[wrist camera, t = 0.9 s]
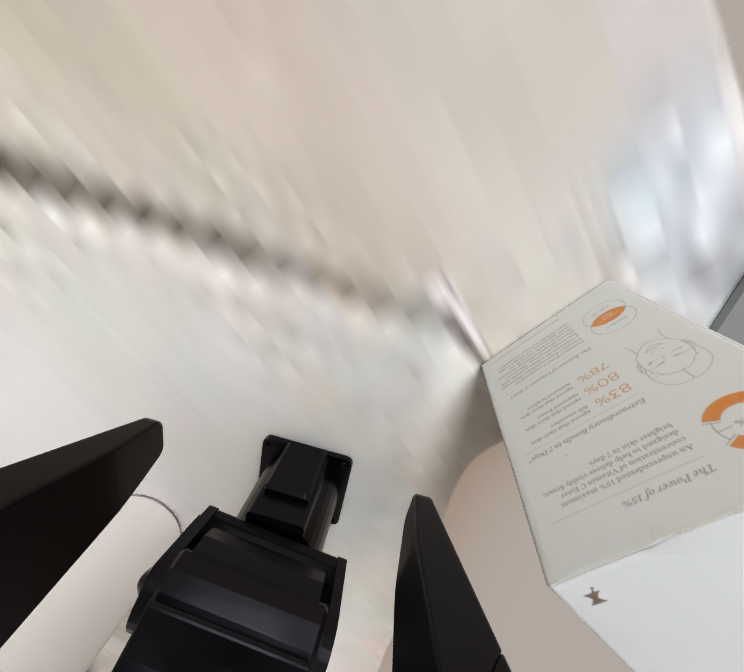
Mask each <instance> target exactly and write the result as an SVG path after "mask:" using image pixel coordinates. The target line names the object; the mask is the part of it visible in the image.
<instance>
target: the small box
mask: <svg viewBox="0 0 744 672" xmlns="http://www.w3.org/2000/svg"><path fill="white" fill-rule="evenodd" d="M482 369H483V373H484V376H485V380H486V383H487V386H488V390H489V394H490V397H491V401H492V405H493V408H494V411H495V415H496V418H497V421H498V424H499V428H500V431H501V434H502V437H503V441H504V444H505V447H506V450H507V453H508V457H509V460H510V463H511V466H512V470H513V473H514V476H515V480H516V483H517V486H518V490H519V493H520V497H521V500H522V503H523V507H524V510H525V514H526V517H527V520H528V524H529V527H530V530H531V534H532V537H533V540H534V544H535V547H536V550H537V554H538V557H539V560H540V563H541V567H542V570H543V574H544V577H545V580H546V584H547V586H548V587H549V588H550V589H551V590H552V591H553V592H554V593H556V595H558V596H559V597H560V598H561V599H562V600H563V601H564V602H565V603H566V604H567V605H568V606H569V607H570V608H571V609H572V610H573V611H574V612H575V613H576V614H577V615H578V616H579V617H580V618H581V619H582V620H583V621H584V622H585V623H586V624H587V625H588V627H590V629H592V631H593V632H594V633H596V634H597V635H598V636H599V637H600V638H601V639H602V640H603V641H604V642H605V643H606V644H607V645H608V646H609V647H610V648H611V649H612V650H613V651H614V652H615V653H616V654H617V655H618V656H619V657H620V658H621V659H622V660H623V661H624V662H625V663H626V664H627V665H628V666H629V667H630V668H631V669H632V670H633V671H634V672H744V345H742V344H740V343H738V342H736V341H734V340H731V339H729V338H727V337H725V336H723V335H721V334H719V333H717V332H715V331H713V330H711V329H709V328H706V327H704V326H702V325H701V324H699V323H697V322H695V321H692V320H690V319H688V318H686V317H684V316H683V315H681V314H679V313H677V312H675V311H673V310H671V309H668V308H666V307H664V306H662V305H660V304H659V303H657V302H654V301H652V300H650V299H648V298H646V297H644V296H642V295H640V294H638V293H636V292H634V291H632V290H629V289H627V288H625V287H623V286H621V285H619V284H617V283H615V282H612V281H610V280H607V281H605V282H603V283H602V284H601V285H599V286H598V287H596V288H595V289H593V290H592V291H590V292H589V293H587V294H586V295H584V296H583V297H581V298H580V299H578V300H577V301H575V302H574V303H572V304H571V305H569V306H568V307H566V308H565V309H563V310H562V311H560V312H559V313H558V314H556V315H555V316H553V317H552V318H550V319H549V320H547V321H546V322H544V323H543V324H541V325H540V326H538V327H537V328H535V329H534V330H532V331H531V332H529V333H528V334H526V335H525V336H523V337H522V338H521V339H519V340H518V341H516V342H515V343H513V344H512V345H510V346H509V347H507V348H506V349H505V350H503V351H502V352H500V353H499V354H497V355H496V356H494V357H493V358H491V359H490V360H488V361H487V362H485V363H484V364H483V365H482Z"/></svg>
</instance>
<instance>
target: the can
mask: <svg viewBox="0 0 744 672" xmlns="http://www.w3.org/2000/svg"><path fill="white" fill-rule="evenodd" d="M179 536H180V525H179V522H178V520H177V518H176V516H175V515H174V514H173V512H172V511H171V510H170V509H169V508H168V507H166V506H165V505H164V504H162V503H161V502H159V501H157V500H156V499H154V498H151V497H148V496H143V495H131V496H130V498H129V499H128V501H127V502H126V503H125V505H124V506H123V507H122V508H121V510H120V511H119V512H118V513H117V515H116V516H115V517H114V518H113V519H112V520H111V522H110V523H109V524H108V525H107V526H106V527H105V529H104V530H103V531H102V532H101V533H100V534H99V535H98V537H97V538H96V539H95V540H94V541H93V542H92V544H91V545H90V546H89V547H88V548H87V549H86V550H85V552H84V553H83V554H82V555H81V556H80V557H79V559H78V560H77V561H76V562H75V563H74V564H73V565H72V567H71V568H70V569H69V570H68V571H67V572H66V574H65V575H64V576H63V577H62V578H61V579H60V580H59V582H58V583H57V584H56V585H55V586H54V587H53V589H52V590H51V591H50V592H49V593H48V594H47V595H46V597H45V598H44V599H43V600H42V601H41V602H40V603H39V605H38V606H37V607H36V608H35V609H34V610H33V612H32V613H31V614H30V615H29V616H28V617H27V618H26V620H25V621H24V622H23V623H22V624H21V625H20V627H19V628H18V629H17V630H16V631H15V632H14V633H13V635H12V636H11V637H10V638H9V639H8V640H7V642H6V643H5V644H4V645H3V646H2V647H1V648H0V672H86V670H87V669H88V667H89V666H90V665H91V663H92V662H93V661H94V659H95V658H96V656H97V655H98V654H99V652H100V651H101V650H102V648H103V647H104V645H105V644H106V643H107V641H108V640H109V638H110V637H111V636H112V634H113V633H114V632H115V630H116V629H117V627H118V626H119V625H120V623H121V622H122V620H123V619H124V618H125V616H126V615H127V613H128V612H129V611H130V609H131V608H132V607H133V605H134V604H135V602H136V600H137V597H138V591H137V584H138V581H139V579H140V578H141V576H142V575H143V574H144V573H145V572H146V571H147V570H148V569H149V568H151V567H152V566H153V565H154V564H155V563H156V562H157V561H158V559H159V558H160V557H161V556H162V555H163V554H164V553H165V552H166V551H167V550H168V548H169V547H170V546H171V545H172V544H173V543H174V542H175V541H176V540H177V539H178V537H179Z"/></svg>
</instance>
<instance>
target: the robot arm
mask: <svg viewBox="0 0 744 672" xmlns="http://www.w3.org/2000/svg"><path fill="white" fill-rule="evenodd" d="M269 441H270V442H272V443H273V444H272V443H270V442H269ZM162 450H163V426H162V423H161V422H159V421H156V420H153V419H149V418H143V419H140V420H137V421H134V422H131V423H129V424H126V425H123V426H120V427H117V428H114V429H111V430H108V431H106V432H103V433H100V434H97V435H94V436H91V437H88V438H85V439H83V440H80V441H77V442H74V443H71V444H68V445H65V446H62V447H60V448H57V449H54V450H51V451H48V452H45V453H42V454H40V455H37V456H34V457H31V458H28V459H25V460H22V461H19V462H17V463H14V464H11V465H8V466H5V467H2V468H0V648H1V647H2V646H3V645H4V644H5V643H6V642H7V640H8V639H9V638H10V637H11V636H12V635H13V633H14V632H15V631H16V630H17V629H18V628H19V627H20V625H21V624H22V623H23V622H24V621H25V620H26V618H27V617H28V616H29V615H30V614H31V613H32V612H33V610H34V609H35V608H36V607H37V606H38V605H39V603H40V602H41V601H42V600H43V599H44V598H45V597H46V595H47V594H48V593H49V592H50V591H51V590H52V589H53V587H54V586H55V585H56V584H57V583H58V582H59V580H60V579H61V578H62V577H63V576H64V575H65V574H66V572H67V571H68V570H69V569H70V568H71V567H72V565H73V564H74V563H75V562H76V561H77V560H78V559H79V557H80V556H81V555H82V554H83V553H84V552H85V550H86V549H87V548H88V547H89V546H90V545H91V544H92V542H93V541H94V540H95V539H96V538H97V537H98V535H99V534H100V533H101V532H102V531H103V530H104V529H105V527H106V526H107V525H108V524H109V523H110V522H111V520H112V519H113V518H114V517H115V516H116V515H117V513H118V512H119V511H120V510H121V508H122V507H123V506H124V505H125V503H126V502H127V501H128V499H129V498H130V496H131V495H132V494H133V492H134V491H135V489H136V488H137V487H138V485H139V484H140V483H141V481H142V480H143V478H144V477H145V476H146V474H147V473H148V471H149V470H150V469H151V467H152V466H153V464H154V463H155V462H156V460H157V459H158V457H159V456H160V454H161V452H162ZM344 463H347V464H344ZM352 464H353V461H352V459H351V458H350V457H348V456H345V455H341V454H338V453H334V452H331V451H327V450H323V449H320V448H316V447H313V446H309V445H306V444H302V443H299V442H295V441H291V440H288V439H284V438H281V437H277V436H274V435H268V436H267V437H266V438H265V439H264V441H263V448H262V457H261V466H260V475H259V480H258V482H257V484H256V485H255V487H254V489H253V490H252V492H251V494H250V495H249V497H248V499H247V500H246V502H245V504H244V505H243V507H242V509H241V510H240V512H239V514H238V515H237V517H234V516H232V515H229V514H227V513H224V512H222V511H219V508H216V507H214V506H211V505H210V506H209V507H208V508H207V509H206V510H205V511H204V512H203V513H202V514H201V515H198V516H197V518H196V519H195V520H194V521H193V522H192V523H191V524H190V525H189V526H188V528H187V529H186V530H185V531H184V532H183V533H182V534H181V535H180V536H179V537H178V539H177V540H176V541H175V542H174V543H173V544H172V545H171V546H170V547H169V548H168V550H167V551H166V552H165V553H164V554H163V555H162V556H161V557H160V558H159V559H158V561H157V562H156V563H155V564H154V565H153V566H152V567H151V568H149V569H148V570H147V571H146V572H145V573H144V574H143V575H142V576H141V578H140V579H139V581H138V584H137V591H138V597H137V600H136V602H135V604H134V606H133V609H132V611H131V613H130V616H129V618H128V621H127V625H126V632H128V633H130V634H132V635H131V636H130V638H129V640H128V642H127V644H126V646H125V648H124V650H123V652H122V653H121V655H120V657H119V659H118V661H117V663H116V665H115V667H114V668H113V670H112V672H326V669H327V666H328V663H329V659H330V656H331V652H332V648H333V644H334V640H335V636H336V631H337V626H338V620H339V614H340V606H341V599H342V592H343V585H344V578H345V571H346V563H347V560H346V559H343V558H341V557H338V558H336V557H334V556H331V555H329V554H326V553H324V552H322V549H323V546H324V543H325V539H326V536H327V533H328V529H329V526H330V524H336V523H337V522H338V520H339V516H340V512H341V508H342V504H343V500H344V496H345V492H346V488H347V484H348V480H349V476H350V472H351V468H352ZM392 672H511V670H510V667H509V666H508V663H507V661H506V659H505V657H504V655H503V654H501V648H500V646H499V644H498V642H497V640H496V637H495V636H494V633H493V631H492V629H491V627H490V625H489V622H488V620H487V618H486V616H485V614H484V612H483V609H482V607H481V605H480V603H479V601H478V599H477V597H476V594H475V592H474V590H473V588H472V586H471V584H470V581H469V579H468V577H467V575H466V573H465V570H464V568H463V566H462V564H461V562H460V560H459V557H458V555H457V553H456V551H455V549H454V547H453V545H452V542H451V540H450V538H449V536H448V534H447V532H446V529H445V527H444V525H443V523H442V521H441V519H440V516H439V514H438V512H437V510H436V508H435V506H434V503H433V501H432V500H431V498H429V497H426V496H423V495H419V494H415V495H414V496H413V498H412V501H411V504H410V507H409V510H408V513H407V515H406V519H405V523H404V530H403V537H402V544H401V551H400V559H399V566H398V573H397V580H396V589H395V605H394V635H393V666H392Z"/></svg>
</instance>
